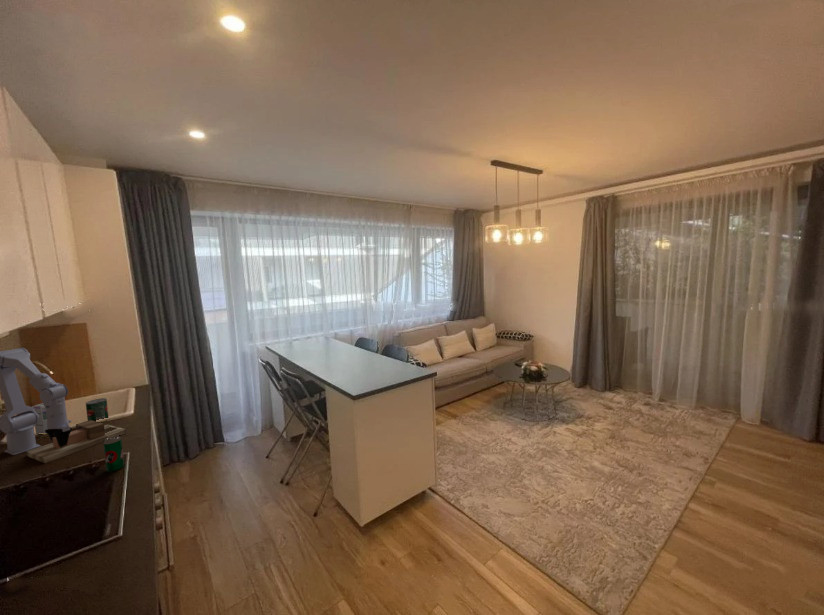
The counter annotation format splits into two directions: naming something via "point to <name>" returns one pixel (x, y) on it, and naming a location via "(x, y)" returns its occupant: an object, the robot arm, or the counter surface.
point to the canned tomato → (97, 409)
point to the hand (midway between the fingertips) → (60, 444)
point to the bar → (72, 437)
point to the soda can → (113, 453)
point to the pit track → (93, 437)
